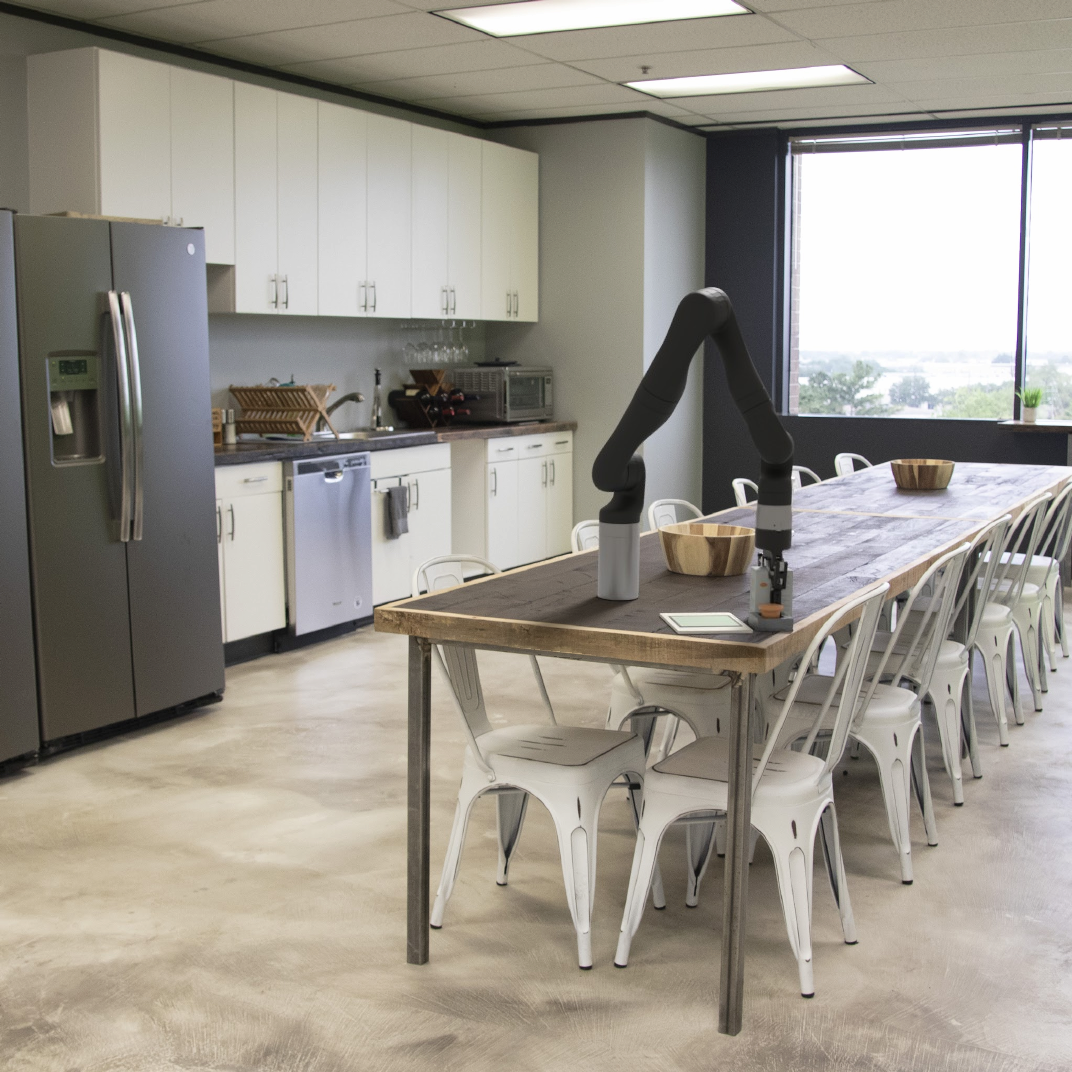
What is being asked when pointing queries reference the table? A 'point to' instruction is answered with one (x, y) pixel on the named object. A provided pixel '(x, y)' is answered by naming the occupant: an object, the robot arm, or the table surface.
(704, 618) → the white rectangular board
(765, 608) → the button
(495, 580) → the table surface
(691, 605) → the table surface
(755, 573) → the small box
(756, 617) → the button base
